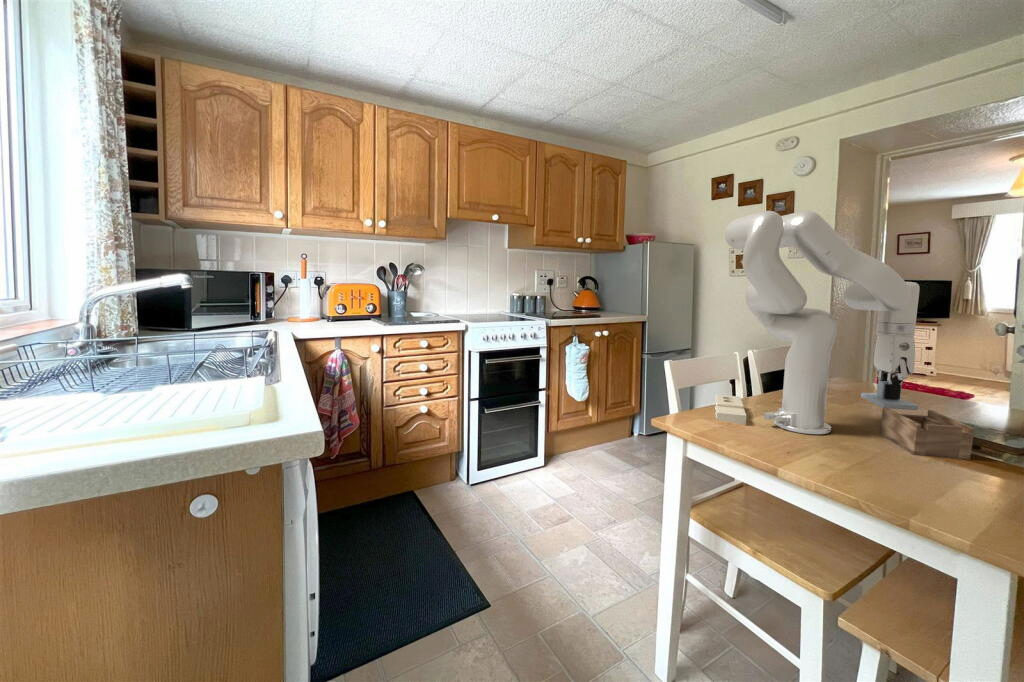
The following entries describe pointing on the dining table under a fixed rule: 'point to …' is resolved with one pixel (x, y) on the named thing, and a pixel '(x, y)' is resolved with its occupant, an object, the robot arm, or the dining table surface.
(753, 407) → the dining table surface
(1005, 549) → the dining table surface
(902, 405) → the lid
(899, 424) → the box
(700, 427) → the dining table surface
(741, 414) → the electrical outlet
